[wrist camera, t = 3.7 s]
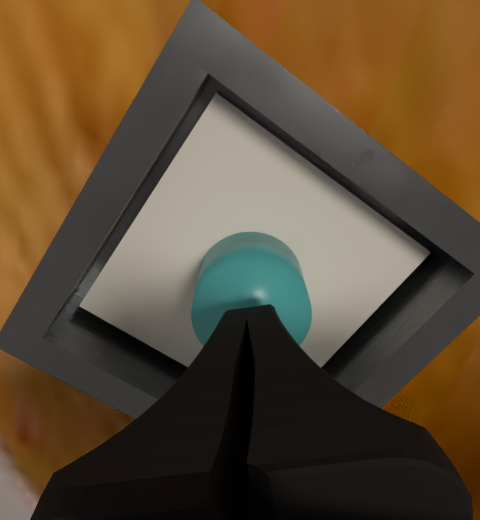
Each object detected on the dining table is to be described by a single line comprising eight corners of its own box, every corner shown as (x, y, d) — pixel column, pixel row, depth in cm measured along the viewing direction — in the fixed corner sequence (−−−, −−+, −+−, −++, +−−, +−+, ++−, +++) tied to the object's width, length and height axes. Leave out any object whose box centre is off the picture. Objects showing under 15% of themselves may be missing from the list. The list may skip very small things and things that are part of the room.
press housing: (469, 222, 17) (533, 265, 13) (278, 420, 21) (286, 496, 17) (205, 14, 14) (193, -4, 10) (42, 288, 18) (-8, 345, 14)
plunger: (420, 241, 16) (465, 285, 13) (273, 399, 19) (279, 467, 16) (218, 90, 14) (211, 98, 11) (87, 292, 17) (51, 346, 14)
